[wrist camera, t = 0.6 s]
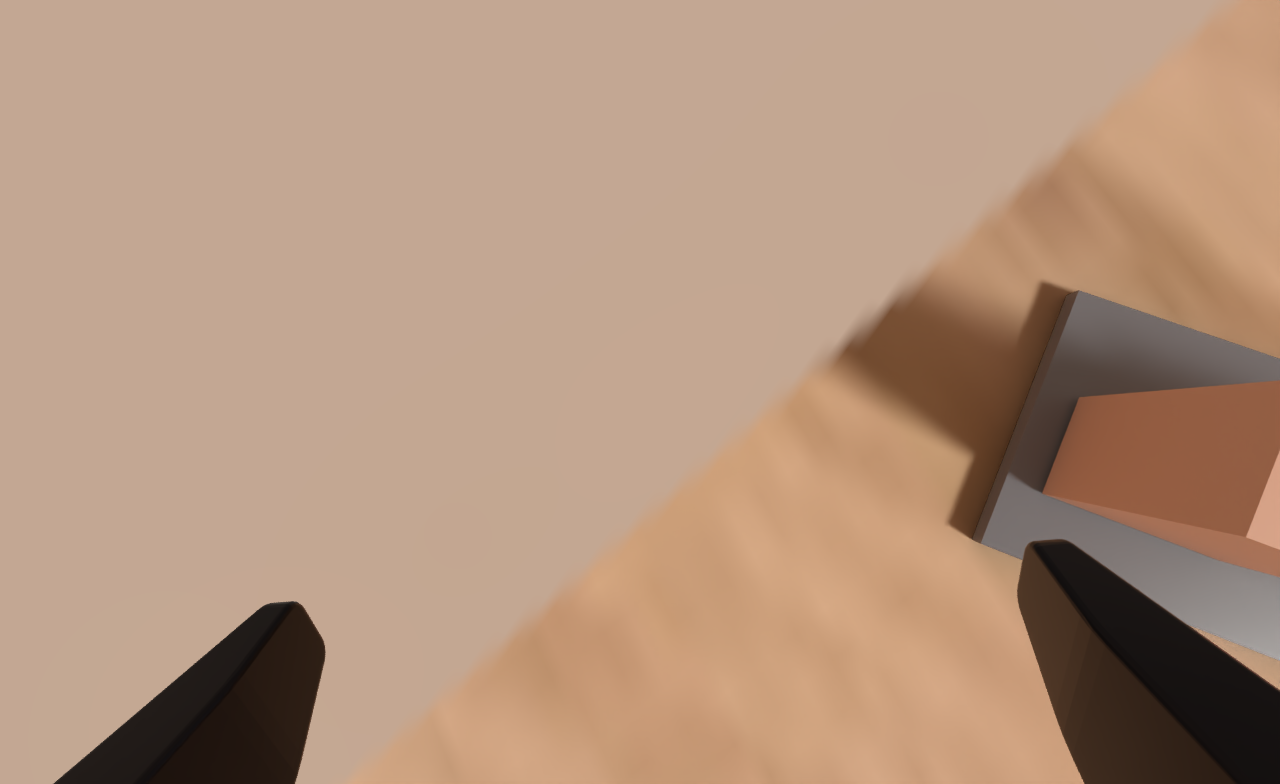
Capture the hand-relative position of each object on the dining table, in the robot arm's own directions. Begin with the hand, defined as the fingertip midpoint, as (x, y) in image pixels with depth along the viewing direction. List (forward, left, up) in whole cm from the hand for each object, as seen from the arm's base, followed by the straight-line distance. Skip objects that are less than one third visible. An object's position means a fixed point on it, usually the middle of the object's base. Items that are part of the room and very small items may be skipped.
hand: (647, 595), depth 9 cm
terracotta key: (-10, -8, -13) cm, 19 cm away
